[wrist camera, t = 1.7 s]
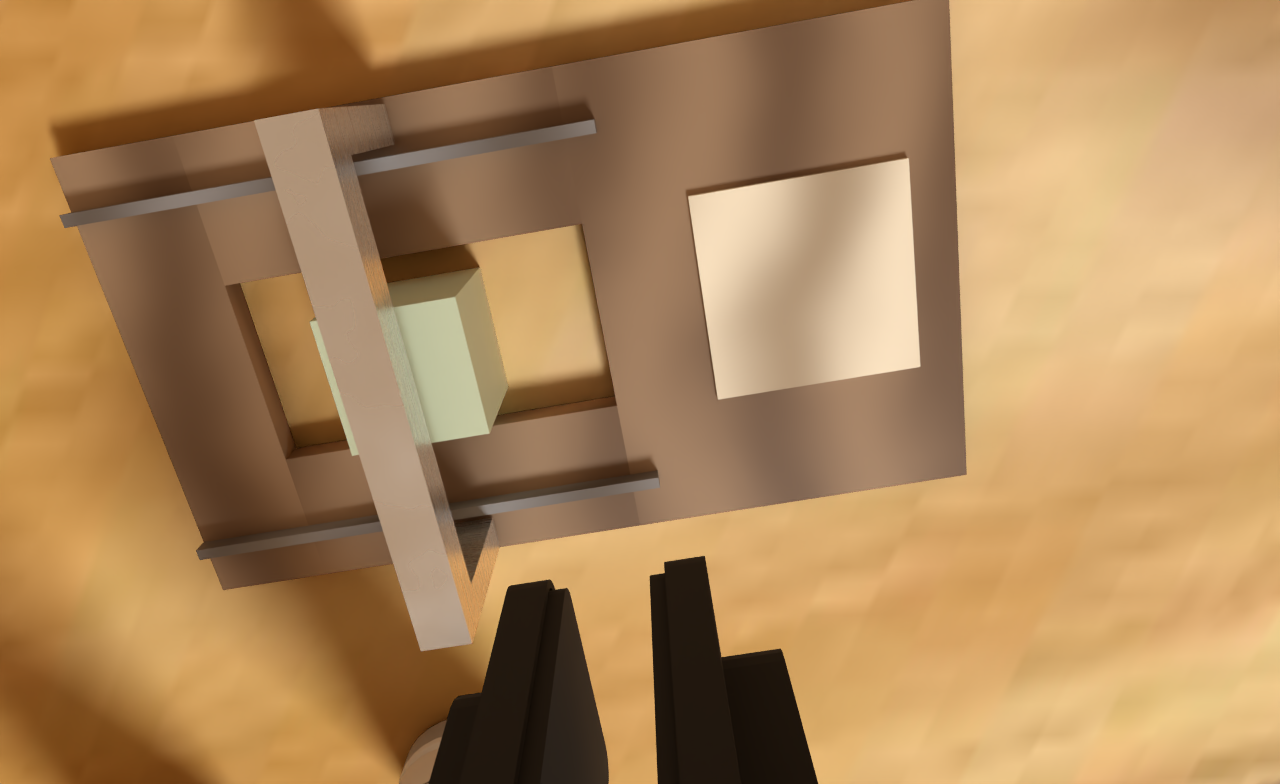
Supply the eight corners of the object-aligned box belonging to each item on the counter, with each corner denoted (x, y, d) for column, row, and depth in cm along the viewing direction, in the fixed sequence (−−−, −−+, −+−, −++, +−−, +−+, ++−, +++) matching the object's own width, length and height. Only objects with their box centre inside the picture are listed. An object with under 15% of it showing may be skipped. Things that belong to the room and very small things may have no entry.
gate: (384, 104, 25) (317, 108, 20) (500, 546, 31) (472, 643, 25) (333, 113, 25) (253, 120, 20) (457, 553, 31) (420, 651, 25)
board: (937, -3, 26) (956, -9, 24) (956, 462, 31) (973, 482, 30) (69, 156, 27) (36, 159, 25) (235, 575, 32) (215, 599, 31)
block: (480, 266, 28) (455, 296, 24) (508, 385, 30) (489, 433, 26) (355, 288, 29) (309, 321, 24) (389, 405, 30) (352, 455, 26)
